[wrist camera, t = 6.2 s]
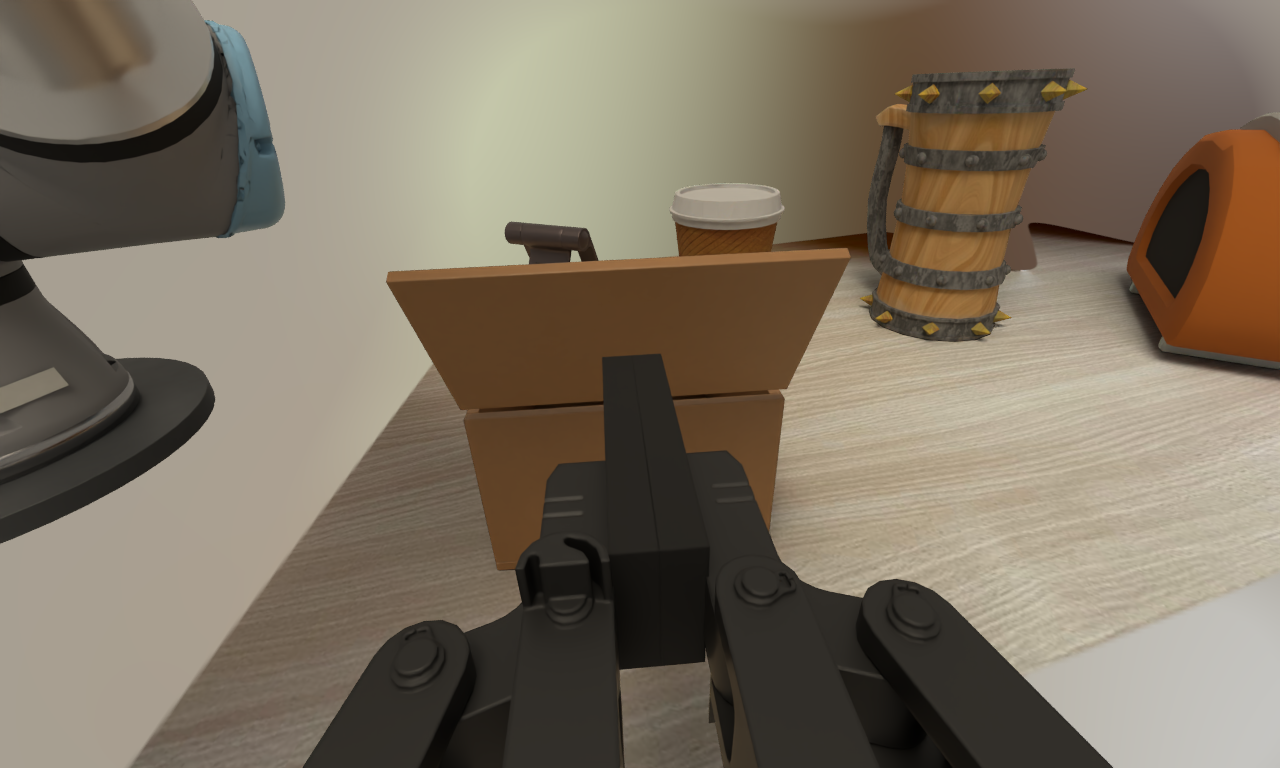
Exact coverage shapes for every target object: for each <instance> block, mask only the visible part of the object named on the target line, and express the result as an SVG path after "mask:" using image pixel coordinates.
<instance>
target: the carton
mask: <svg viewBox="0 0 1280 768" xmlns="http://www.w3.org/2000/svg"><path fill="white" fill-rule="evenodd" d="M672 399H673V403H674V407H675V411H676V415H677V418H678V422H679V426H680V430H681V434H682V438H683V442H684V446H685V450H686V453H695V452H709V451H723V450H727V451H728V452H729V453H730V454H731V455H732V456H733V457H734V458H735V459H737V460H738V461H739V462H740V463H741V464H742V466H743V468H744V471H745V473H746V476H747V478H748V481H749V486H751V488H752V491H753V493H754V496H755V500H756V501H757V504H758V506H759V509H760V511H761V514H762V516H763V519H764V521H765V524H766V526H767V529H768V531H769V528H770V519H771V511H772V502H773V494H774V485H775V477H776V468H777V460H778V451H779V443H780V435H781V426H782V418H783V409H784V401H785V399H784V397H783V395H782V394H781V392H780V390H779V389H777V390H762V391H746V392H731V393H716V394H700V395H685V396H672ZM464 424H465V429H466V433H467V438H468V442H469V446H470V451H471V455H472V460H473V464H474V468H475V473H476V477H477V482H478V486H479V491H480V495H481V499H482V504H483V508H484V513H485V517H486V521H487V526H488V530H489V535H490V539H491V543H492V548H493V552H494V557H495V561H496V566H497V570H508V569H515V567H516V565H517V563H518V560H519V558H520V555H521V554H522V553H523V552H524V551H525V550H526V549H527V548H528V547H529V545H530V544H531V543H532V542H534V541H536V540H538V539H540V532H541V524H542V518H543V507H544V503H545V491H546V482H547V479H548V478H549V477H550V475H551V474H552V472H553V471H554V470H555V468H556V467H557V465H558V464H562V463H577V462H591V461H605V437H604V405H603V401H593V402H577V403H562V404H547V405H531V406H516V407H501V408H485V409H470V410H467V413H466V415H465V418H464Z"/></svg>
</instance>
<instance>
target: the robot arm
mask: <svg viewBox="0 0 1280 768" xmlns="http://www.w3.org/2000/svg"><path fill="white" fill-rule="evenodd" d="M272 141H273V138H272V134H271V130H270V123H269V119H268V114H267V110H266V106H265V103H264V99H263V95H262V91H261V88H260V84H259V81H258V77H257V74H256V71H255V67H254V64H253V61H252V58H251V55H250V52H249V49H248V47H247V44H246V42H245V40H244V38H243V37H242V35H241V34H240V33H239V32H238V31H236V30H235V29H233V28H232V27H229V26H224V25H219V24H217V23H215V22H214V21H209V20H207V21H206V20H204V19H203V18H202V16H201V14H200V13H199V11H198V9H197V8H196V6H195V5H194V3H193V2H192V1H191V0H0V485H1V484H4V483H6V482H9V481H12V480H14V479H17V478H19V477H22V476H24V475H27V474H29V473H32V472H34V471H36V470H39V469H41V468H43V467H45V466H48V465H50V464H52V463H54V462H56V461H58V460H60V459H63V458H65V457H67V456H69V455H71V454H73V453H75V452H76V451H78V450H80V449H82V448H84V447H86V446H87V445H89V444H91V443H93V442H94V441H96V440H98V439H99V438H101V437H102V436H104V435H106V434H107V433H108V432H110V431H111V430H113V429H114V428H115V427H117V426H118V425H119V424H121V423H122V422H123V421H124V420H125V419H126V418H127V417H128V416H129V415H130V414H131V413H132V412H133V411H134V410H135V408H136V407H137V405H138V403H139V401H140V392H139V390H138V388H137V386H136V385H135V383H134V381H133V379H132V378H131V376H130V374H129V372H128V371H127V370H125V368H124V367H123V366H122V365H121V364H120V363H119V362H118V361H117V360H116V359H115V358H113V357H111V356H109V355H106V354H104V353H103V352H102V351H101V350H100V349H99V348H98V347H97V346H96V345H95V344H94V343H93V342H92V341H91V340H90V339H89V338H88V337H87V336H86V335H85V334H84V333H83V332H82V331H81V330H80V329H79V328H78V327H77V326H76V325H74V324H73V323H72V322H71V321H70V320H68V319H67V318H66V317H65V316H64V315H63V314H62V313H61V312H60V311H58V310H57V309H56V308H55V307H54V306H53V305H51V304H50V303H49V302H48V301H47V300H46V299H45V298H44V296H43V295H42V293H41V292H40V291H39V289H38V287H37V286H36V285H35V282H34V281H33V279H32V278H31V276H30V274H29V273H28V271H27V269H26V268H25V266H24V264H23V262H22V260H26V259H34V258H43V257H49V256H57V255H65V254H73V253H81V252H89V251H98V250H106V249H114V248H122V247H130V246H138V245H146V244H153V243H163V242H172V241H181V240H190V239H200V238H209V237H217V238H227V237H231V236H233V235H234V234H235V233H239V232H245V231H251V230H256V229H263V228H267V227H270V226H272V225H274V224H276V223H277V222H278V221H279V220H280V219H281V217H282V216H283V213H284V209H285V198H284V191H283V183H282V178H281V172H280V167H279V163H278V158H277V154H276V151H275V148H274V145H273V144H272ZM602 373H603V405H604V437H605V461H591V462H577V463H562V464H558V465H557V467H556V468H555V470H554V471H553V472H552V474H551V475H550V477H549V478H548V479H547V482H546V491H545V503H544V507H543V518H542V524H541V532H540V539H538V540H536V541H534V542H532V543H531V544H530V545H529V547H528V548H527V549H526V550H525V551H524V552H523V553H522V554H521V555H520V558H519V560H518V563H517V565H516V567H515V571H516V575H517V580H518V585H519V590H520V595H521V600H522V603H521V604H520V605H519V606H518V607H517V608H516V609H514V610H513V611H512V612H510V613H509V614H507V615H506V616H504V617H502V618H500V619H498V620H496V621H494V622H492V623H489V624H486V625H484V626H481V627H478V628H476V629H473V630H470V631H468V632H465V633H463V632H462V630H461V629H460V628H459V627H458V626H457V625H455V624H452V623H449V622H446V621H443V620H436V621H423V622H420V623H418V624H415V625H412V626H409V627H407V628H405V629H403V630H402V631H400V632H399V633H397V634H396V635H394V636H393V637H392V638H390V639H389V640H387V642H386V643H385V644H384V645H383V646H382V647H381V649H380V650H379V651H378V652H377V653H376V654H375V655H374V657H373V658H372V660H371V661H370V663H369V665H368V666H367V668H366V669H365V671H364V672H363V674H362V675H361V677H360V679H359V680H358V682H357V683H356V685H355V686H354V688H353V690H352V691H351V693H350V694H349V696H348V697H347V699H346V700H345V702H344V704H343V705H342V707H341V708H340V710H339V711H338V713H337V715H336V716H335V718H334V719H333V721H332V722H331V724H330V726H329V727H328V729H327V730H326V732H325V733H324V735H323V736H322V738H321V740H320V741H319V743H318V744H317V746H316V747H315V749H314V751H313V752H312V754H311V755H310V757H309V758H308V760H307V761H306V763H305V765H304V766H303V768H625V763H624V742H623V721H622V702H621V690H620V671H619V670H621V669H632V668H643V667H654V666H665V665H676V664H687V663H698V662H705V648H706V652H707V657H708V662H709V667H710V672H711V679H710V697H709V723H714V722H715V724H716V729H717V734H718V740H719V745H720V750H721V756H722V761H723V766H724V768H1113V767H1112V766H1111V765H1110V764H1109V763H1108V762H1107V761H1106V760H1105V759H1104V758H1103V757H1102V756H1101V755H1100V754H1099V753H1098V752H1097V751H1096V750H1095V749H1094V748H1093V747H1092V746H1091V745H1090V744H1089V743H1088V742H1087V741H1086V740H1085V739H1084V738H1083V737H1082V736H1081V735H1080V734H1079V733H1078V732H1077V731H1076V730H1075V729H1074V728H1073V727H1072V726H1071V725H1070V724H1069V723H1068V722H1067V721H1066V720H1065V719H1064V718H1063V717H1062V716H1061V715H1060V714H1059V713H1058V712H1057V711H1056V710H1055V709H1054V708H1053V707H1052V706H1051V705H1050V704H1049V703H1048V702H1047V701H1046V700H1045V699H1044V698H1043V697H1042V696H1041V695H1040V694H1039V692H1037V691H1036V689H1034V688H1033V687H1032V685H1031V684H1030V683H1029V682H1028V681H1027V680H1026V679H1025V678H1024V677H1023V676H1022V675H1021V674H1020V673H1019V672H1018V671H1017V670H1016V669H1015V668H1014V667H1013V666H1012V665H1011V664H1010V663H1009V662H1008V661H1007V660H1006V659H1005V658H1004V657H1003V656H1002V655H1001V654H1000V653H999V652H998V651H997V650H996V649H995V648H994V647H993V646H992V645H991V644H990V643H989V642H988V641H987V640H986V639H985V638H984V637H983V636H982V635H981V634H980V633H979V632H978V631H977V630H976V629H975V628H974V627H973V626H972V625H971V624H970V623H969V622H968V621H967V620H966V619H965V618H964V617H963V616H962V615H961V614H960V613H959V612H958V611H957V610H956V609H955V608H954V607H953V606H952V605H951V604H950V603H949V602H947V601H946V600H945V599H943V598H942V597H941V596H940V595H938V594H937V593H936V592H934V591H933V590H931V589H928V588H926V587H924V586H922V585H920V584H917V583H915V582H910V581H904V580H899V579H892V580H884V581H879V582H877V583H876V584H874V585H872V586H871V587H869V588H868V589H867V591H866V593H865V595H864V597H863V598H860V597H855V596H850V595H845V594H840V593H834V592H829V591H826V590H822V589H819V588H815V587H813V586H811V585H809V584H807V583H805V582H803V581H801V580H800V579H799V578H798V576H797V575H796V573H795V572H794V571H793V570H792V569H790V568H789V567H788V566H786V565H785V564H784V563H782V562H781V560H780V558H779V556H778V554H777V552H776V549H775V547H774V544H773V541H772V539H771V536H770V534H769V531H768V529H767V526H766V524H765V521H764V519H763V516H762V514H761V511H760V509H759V506H758V504H757V501H756V500H755V496H754V493H753V491H752V488H751V486H749V481H748V478H747V476H746V473H745V471H744V468H743V466H742V464H741V463H740V462H739V461H738V460H737V459H735V458H734V457H733V456H732V455H731V454H730V453H729V452H728V451H727V450H723V451H709V452H695V453H686V450H685V446H684V442H683V438H682V434H681V430H680V426H679V422H678V418H677V415H676V411H675V407H674V403H673V399H672V395H671V391H670V387H669V383H668V379H667V375H666V371H665V367H664V363H663V360H662V356H661V354H644V355H628V356H612V357H602Z"/></svg>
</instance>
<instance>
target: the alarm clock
mask: <svg viewBox="0 0 1280 768" xmlns="http://www.w3.org/2000/svg"><path fill="white" fill-rule="evenodd" d="M1127 272H1128V273H1129V275H1130V277H1131V279H1132V284H1131V287H1130V291H1131V292H1132V293H1135V294H1140V296H1141V297H1142V299H1143V301H1144V303H1145V305H1146V307H1147V308H1148V310H1149V312H1150V314H1151V316H1152V318H1153V319H1154V321H1155V323H1156V325H1157V327H1158V329H1159V330H1160V332H1161V334H1162V338H1161V340H1160V342H1159V345H1158V346H1159V348H1160V349H1161V350H1162V351H1163V352H1170V353H1176V354H1183V355H1189V356H1196V357H1202V358H1209V359H1215V360H1222V361H1228V362H1235V363H1241V364H1248V365H1254V366H1261V367H1267V368H1274V369H1280V112H1279V113H1278V112H1277V113H1268V114H1265V115H1263V116H1260V117H1258V118H1256V119H1254V120H1252V121H1250V122H1249V123H1247V124H1246V125H1244V126H1243V127H1241V128H1240V130H1226V131H1220V132H1216V133H1212V134H1208V135H1205V136H1204V137H1203V138H1202V139H1201V140H1200V141H1199V142H1198V143H1197V144H1195V145H1194V146H1193V147H1192V148H1191V149H1190V150H1189V151H1188V152H1187V153H1186V154H1185V155H1184V156H1183V157H1182V159H1181V160H1180V161H1179V162H1178V163H1177V165H1176V166H1175V167H1174V168H1173V169H1172V171H1171V173H1170V174H1169V176H1168V177H1167V179H1166V180H1165V182H1164V184H1163V185H1162V187H1161V188H1160V190H1159V192H1158V194H1157V195H1156V197H1155V199H1154V201H1153V203H1152V205H1151V207H1150V209H1149V210H1148V213H1147V214H1146V217H1145V219H1144V221H1143V223H1142V226H1141V228H1140V231H1139V233H1138V235H1137V237H1136V240H1135V242H1134V245H1133V248H1132V250H1131V253H1130V256H1129V259H1128V264H1127Z"/></svg>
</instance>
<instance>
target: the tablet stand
mask: <svg viewBox="0 0 1280 768" xmlns="http://www.w3.org/2000/svg"><path fill="white" fill-rule="evenodd" d="M505 237H506V240H507V241H508V242H509V243H511V244H520V245H524V247H525V249H526V251H527V253H528V256H529V257H530V260H529V264H547V263H566V262H570V258H571V250H574V251H578V253H579V256H580V258H581V261H582V262H586V261H598V258H597V255H596V252H595V249H594V246H593V243H592V240H591V237H590V234H589V232H588V230H587V229H586V228H576V227H565V226H553V225H542V224H531V223H521V222H509V223H508V224H507V226H506V228H505Z"/></svg>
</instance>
